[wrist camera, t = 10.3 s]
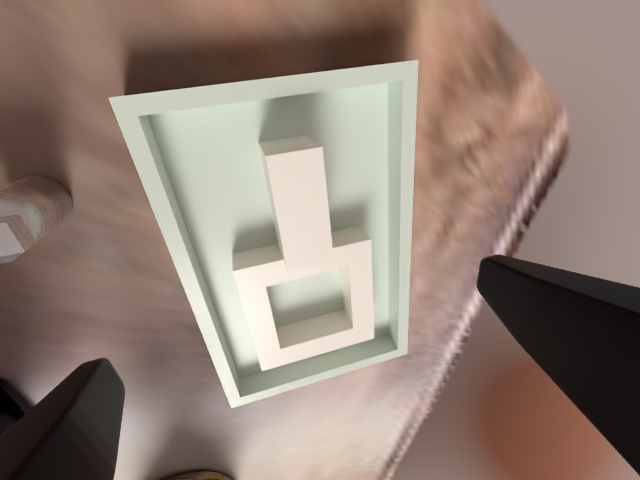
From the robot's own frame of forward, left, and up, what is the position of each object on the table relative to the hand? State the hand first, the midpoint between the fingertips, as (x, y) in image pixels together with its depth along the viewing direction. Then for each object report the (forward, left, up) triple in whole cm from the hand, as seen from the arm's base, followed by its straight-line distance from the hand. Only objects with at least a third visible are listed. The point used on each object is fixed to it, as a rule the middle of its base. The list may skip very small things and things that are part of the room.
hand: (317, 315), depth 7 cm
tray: (-5, -1, -12) cm, 13 cm away
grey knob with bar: (+1, +11, -12) cm, 16 cm away
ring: (-5, -1, -11) cm, 12 cm away
